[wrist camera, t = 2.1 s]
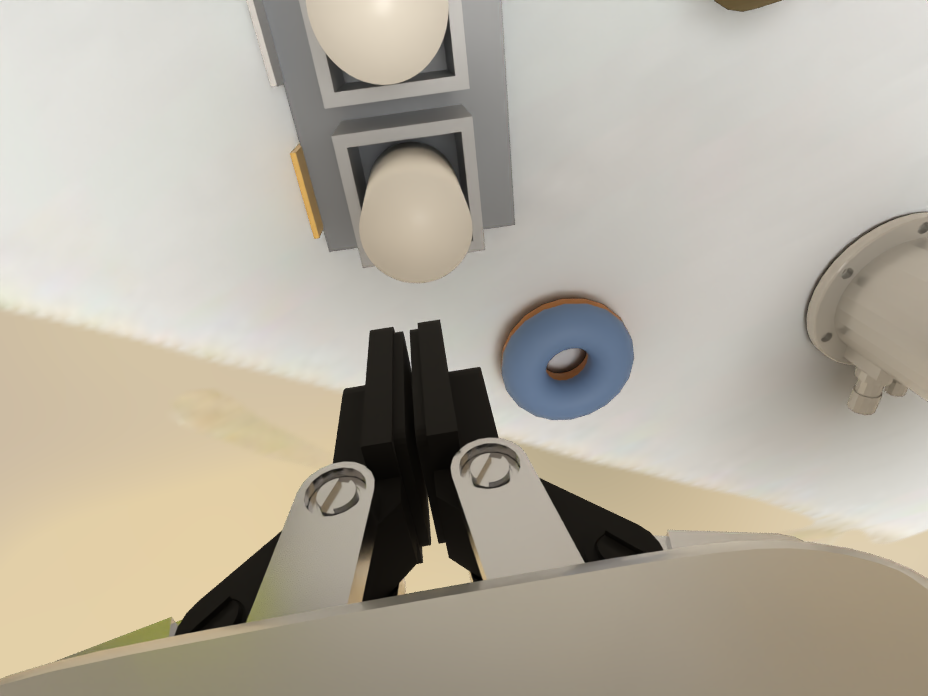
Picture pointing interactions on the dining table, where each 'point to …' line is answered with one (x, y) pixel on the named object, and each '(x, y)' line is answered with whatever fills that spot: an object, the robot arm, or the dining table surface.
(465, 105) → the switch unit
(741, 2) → the cork
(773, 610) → the robot arm
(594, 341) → the doughnut
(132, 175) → the dining table surface
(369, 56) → the button mid
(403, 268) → the button
